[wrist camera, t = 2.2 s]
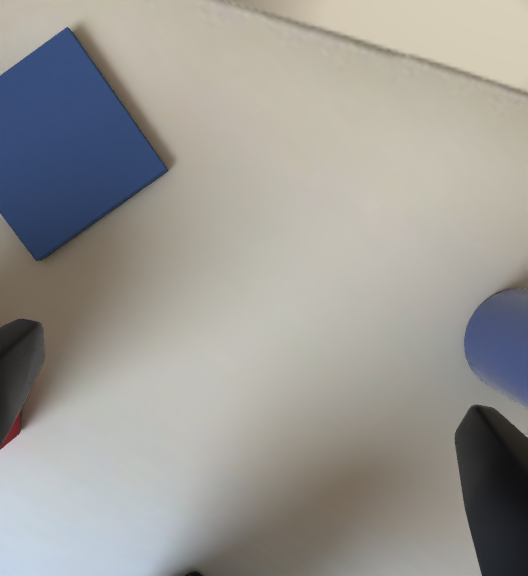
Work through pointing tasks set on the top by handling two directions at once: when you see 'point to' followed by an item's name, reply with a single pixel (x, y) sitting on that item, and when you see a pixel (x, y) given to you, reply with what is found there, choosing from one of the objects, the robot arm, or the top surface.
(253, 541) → the top surface
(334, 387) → the top surface
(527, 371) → the tall blue cylinder
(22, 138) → the blue mat
